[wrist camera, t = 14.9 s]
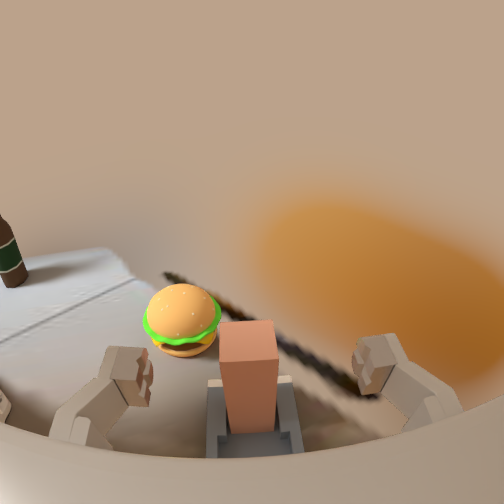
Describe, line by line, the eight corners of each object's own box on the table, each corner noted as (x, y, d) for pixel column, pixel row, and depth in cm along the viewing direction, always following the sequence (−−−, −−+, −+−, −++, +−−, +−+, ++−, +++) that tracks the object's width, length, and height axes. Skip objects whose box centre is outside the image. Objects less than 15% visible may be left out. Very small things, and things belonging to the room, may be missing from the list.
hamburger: (154, 313, 52) (144, 272, 48) (222, 309, 53) (218, 267, 49) (144, 365, 42) (128, 323, 38) (225, 362, 43) (219, 319, 39)
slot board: (309, 508, 24) (313, 502, 22) (209, 514, 23) (205, 509, 22) (289, 387, 39) (290, 374, 37) (210, 392, 38) (208, 379, 37)
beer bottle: (7, 275, 62) (-22, 189, 50) (31, 268, 65) (3, 180, 53) (1, 291, 56) (-33, 199, 44) (26, 284, 59) (-6, 189, 47)
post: (273, 431, 32) (278, 358, 25) (231, 433, 32) (219, 362, 25) (269, 398, 37) (272, 319, 30) (230, 400, 36) (220, 322, 29)
